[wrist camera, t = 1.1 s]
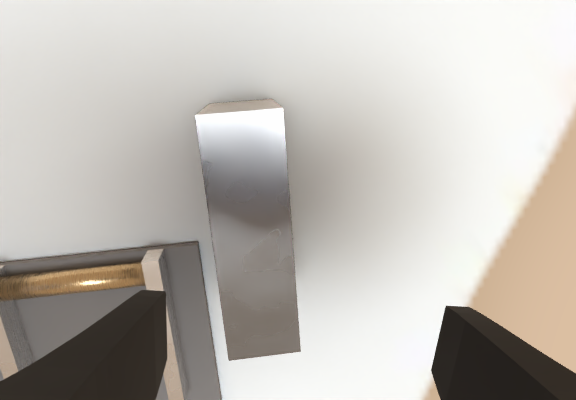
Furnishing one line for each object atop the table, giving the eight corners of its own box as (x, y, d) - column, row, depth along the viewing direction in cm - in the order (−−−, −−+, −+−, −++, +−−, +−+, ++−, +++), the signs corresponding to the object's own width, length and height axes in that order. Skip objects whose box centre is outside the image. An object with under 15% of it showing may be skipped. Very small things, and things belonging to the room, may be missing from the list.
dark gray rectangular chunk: (233, 287, 22) (228, 360, 17) (209, 103, 19) (195, 115, 14) (286, 281, 23) (300, 351, 17) (272, 98, 20) (283, 108, 14)
